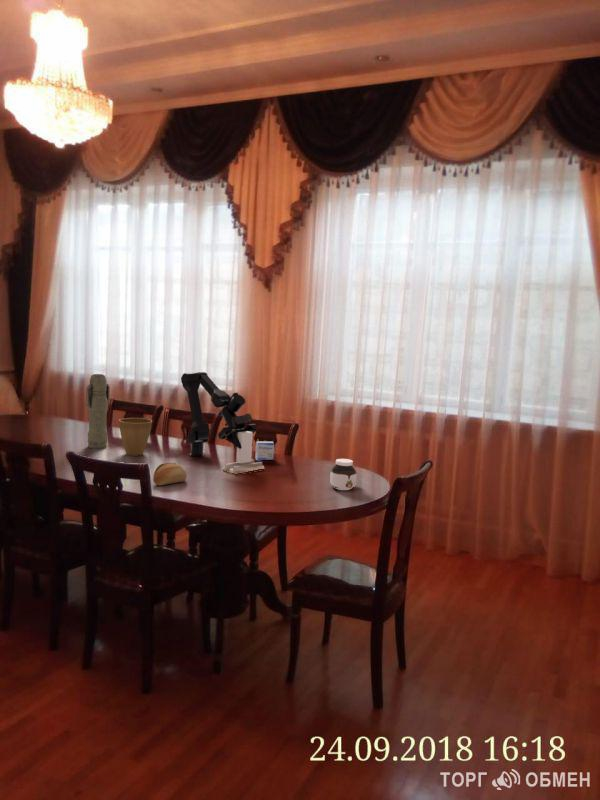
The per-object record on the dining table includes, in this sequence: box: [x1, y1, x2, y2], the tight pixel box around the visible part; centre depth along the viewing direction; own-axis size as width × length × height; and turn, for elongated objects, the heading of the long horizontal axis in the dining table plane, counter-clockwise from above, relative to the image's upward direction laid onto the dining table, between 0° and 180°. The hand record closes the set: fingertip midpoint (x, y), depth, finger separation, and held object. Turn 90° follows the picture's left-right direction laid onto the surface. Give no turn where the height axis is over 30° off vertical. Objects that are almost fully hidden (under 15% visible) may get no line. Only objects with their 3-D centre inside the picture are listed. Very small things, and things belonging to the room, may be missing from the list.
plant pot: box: [118, 417, 153, 457], centre depth 290 cm, size 15×15×16 cm
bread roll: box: [152, 462, 188, 486], centre depth 246 cm, size 10×15×8 cm, turn 143°
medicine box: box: [254, 440, 275, 462], centre depth 293 cm, size 8×4×9 cm, turn 105°
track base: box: [222, 459, 265, 475], centre depth 272 cm, size 9×16×3 cm, turn 136°
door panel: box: [235, 431, 254, 463], centre depth 271 cm, size 3×6×13 cm, turn 136°
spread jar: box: [329, 458, 357, 488], centre depth 253 cm, size 12×11×12 cm
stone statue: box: [85, 373, 111, 450], centre depth 299 cm, size 9×12×35 cm
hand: (246, 447), depth 270 cm, fingers closed on door panel, 6 cm apart
